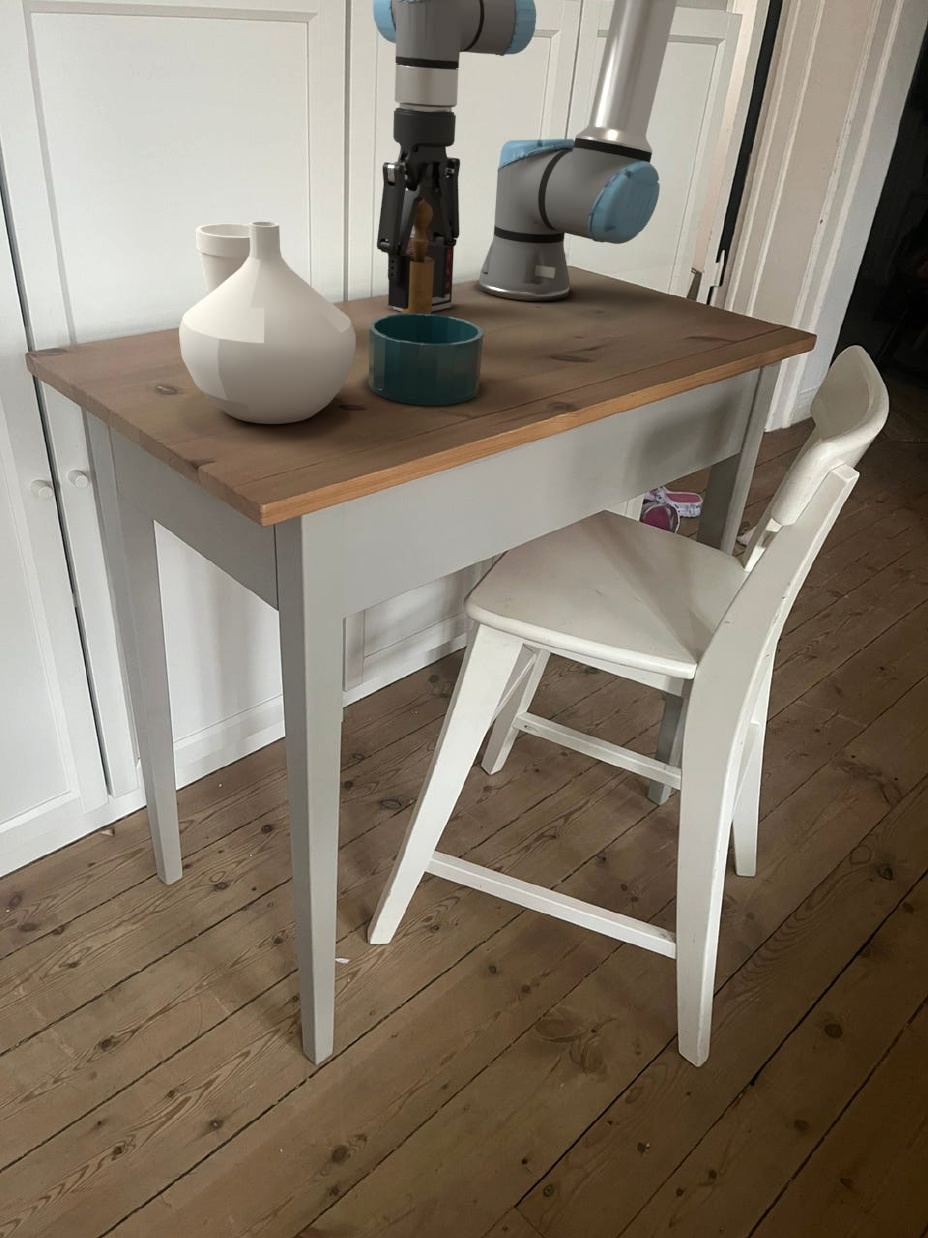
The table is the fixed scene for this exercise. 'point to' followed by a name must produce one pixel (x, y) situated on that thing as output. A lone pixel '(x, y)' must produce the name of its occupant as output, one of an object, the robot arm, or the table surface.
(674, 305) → the table surface
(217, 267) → the foam cup
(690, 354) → the table surface
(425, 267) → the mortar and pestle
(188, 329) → the vase
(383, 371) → the crock
